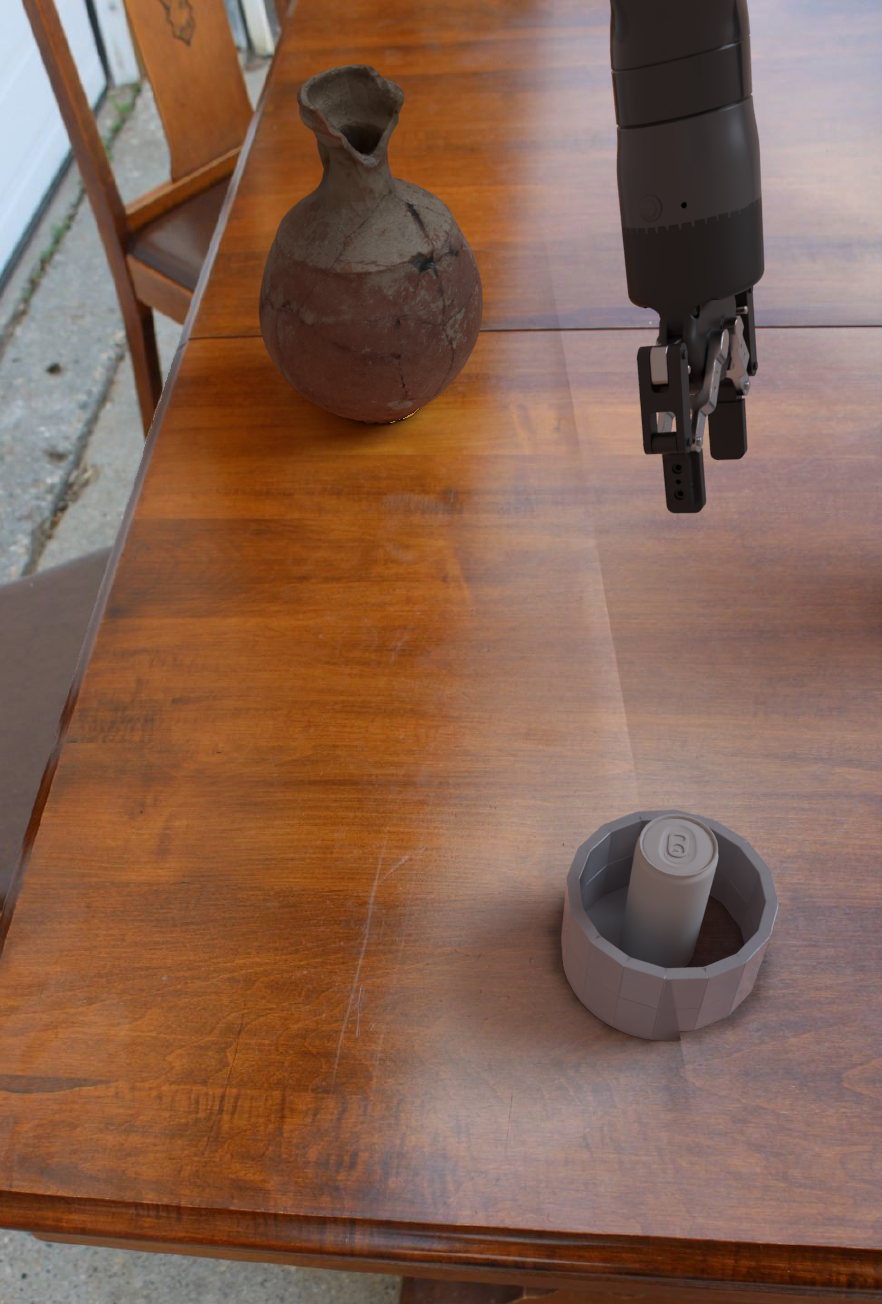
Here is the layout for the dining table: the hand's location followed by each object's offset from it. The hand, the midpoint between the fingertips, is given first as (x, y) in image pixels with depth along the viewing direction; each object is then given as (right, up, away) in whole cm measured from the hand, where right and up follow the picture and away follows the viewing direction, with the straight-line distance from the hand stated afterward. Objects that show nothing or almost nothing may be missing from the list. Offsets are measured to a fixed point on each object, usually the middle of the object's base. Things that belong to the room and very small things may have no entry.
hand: (708, 483), depth 75 cm
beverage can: (-2, -30, +5) cm, 31 cm away
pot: (-2, -30, +6) cm, 31 cm away
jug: (-19, +22, +48) cm, 56 cm away
